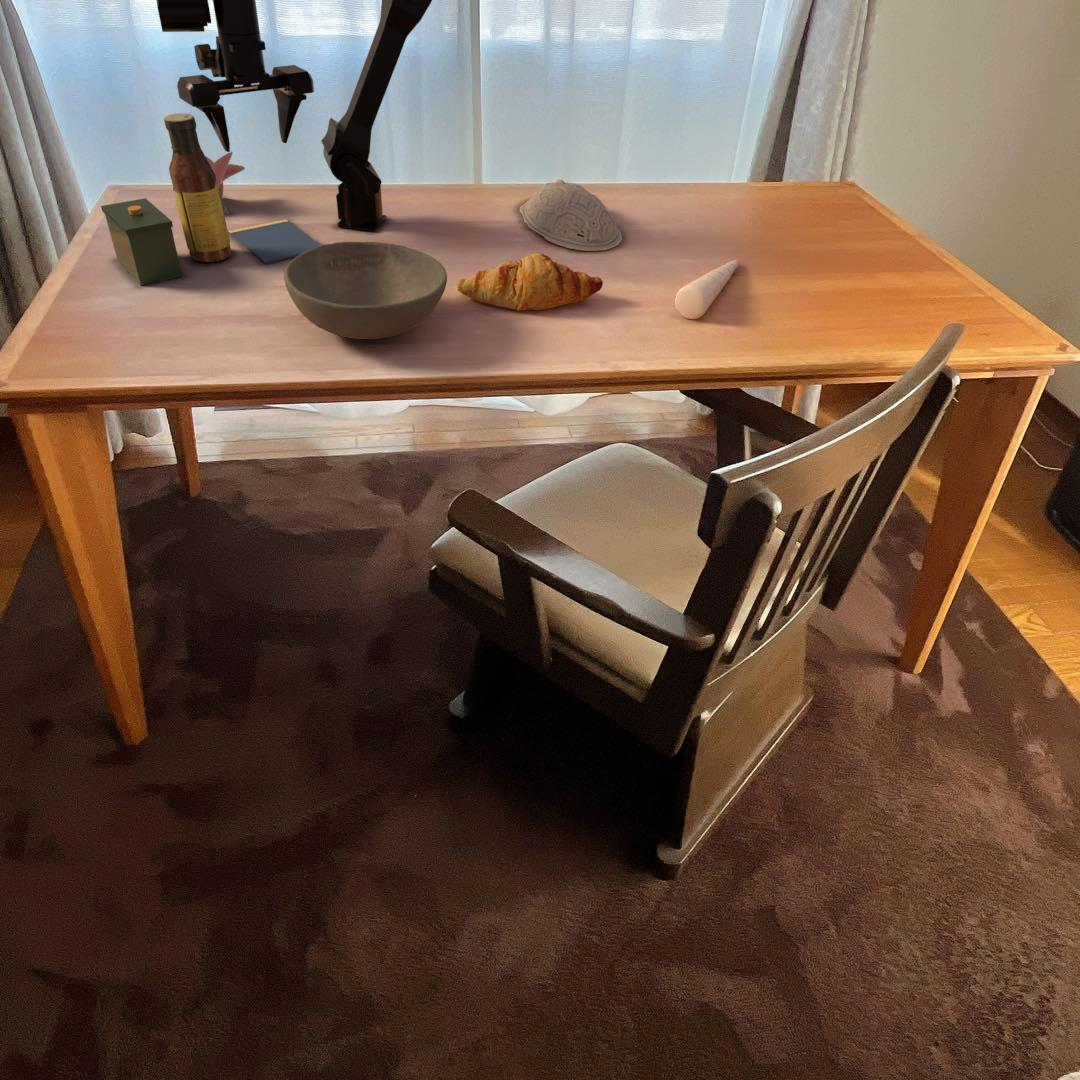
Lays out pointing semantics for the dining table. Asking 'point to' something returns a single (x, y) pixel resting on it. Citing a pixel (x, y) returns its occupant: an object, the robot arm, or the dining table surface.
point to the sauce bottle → (196, 192)
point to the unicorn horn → (703, 291)
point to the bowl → (365, 288)
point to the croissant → (530, 284)
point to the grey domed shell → (578, 204)
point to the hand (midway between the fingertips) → (256, 146)
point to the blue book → (274, 240)
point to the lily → (224, 171)
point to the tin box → (143, 240)
